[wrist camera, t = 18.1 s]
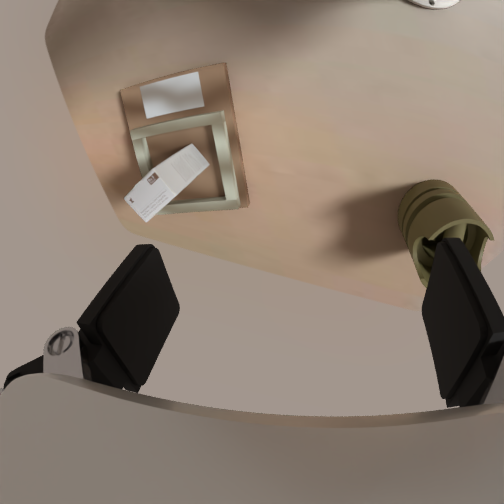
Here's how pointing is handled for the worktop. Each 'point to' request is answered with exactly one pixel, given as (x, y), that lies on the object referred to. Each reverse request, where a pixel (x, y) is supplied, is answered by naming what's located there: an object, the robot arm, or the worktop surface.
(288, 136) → the worktop surface
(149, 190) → the skincare box
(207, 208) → the framed base plate
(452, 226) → the piston
